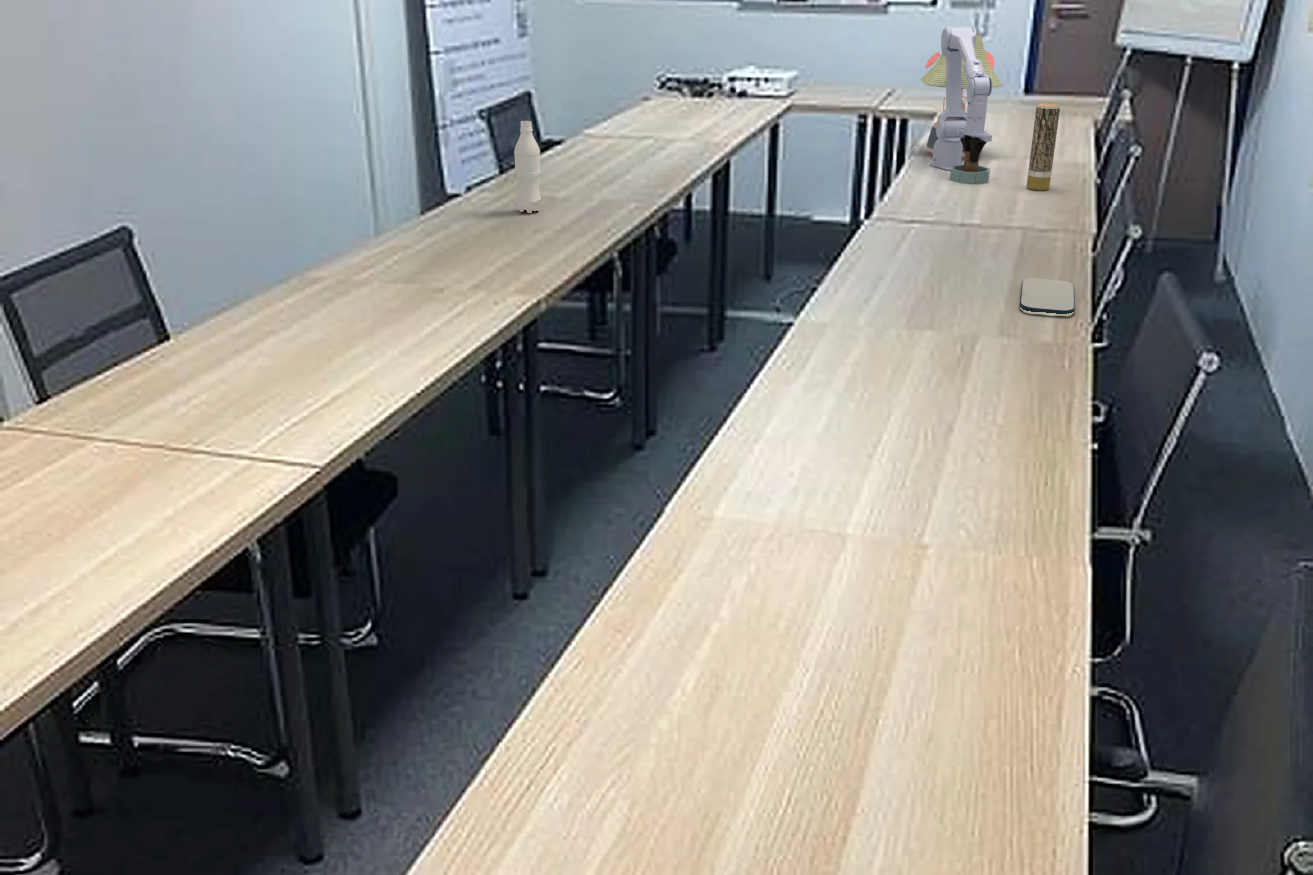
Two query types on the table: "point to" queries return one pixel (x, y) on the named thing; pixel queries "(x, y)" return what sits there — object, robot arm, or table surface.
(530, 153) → the water bottle
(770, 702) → the table surface
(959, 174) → the bowl
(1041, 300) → the external hard drive
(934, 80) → the desk lamp
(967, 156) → the wooden block
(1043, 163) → the bark patterned cylinder
